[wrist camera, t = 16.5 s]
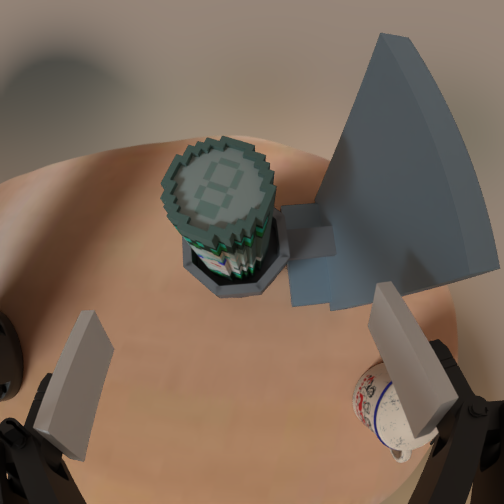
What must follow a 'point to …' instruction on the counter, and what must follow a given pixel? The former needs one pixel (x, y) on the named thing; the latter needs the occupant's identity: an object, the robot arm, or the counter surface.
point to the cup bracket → (380, 200)
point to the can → (222, 204)
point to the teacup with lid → (386, 413)
